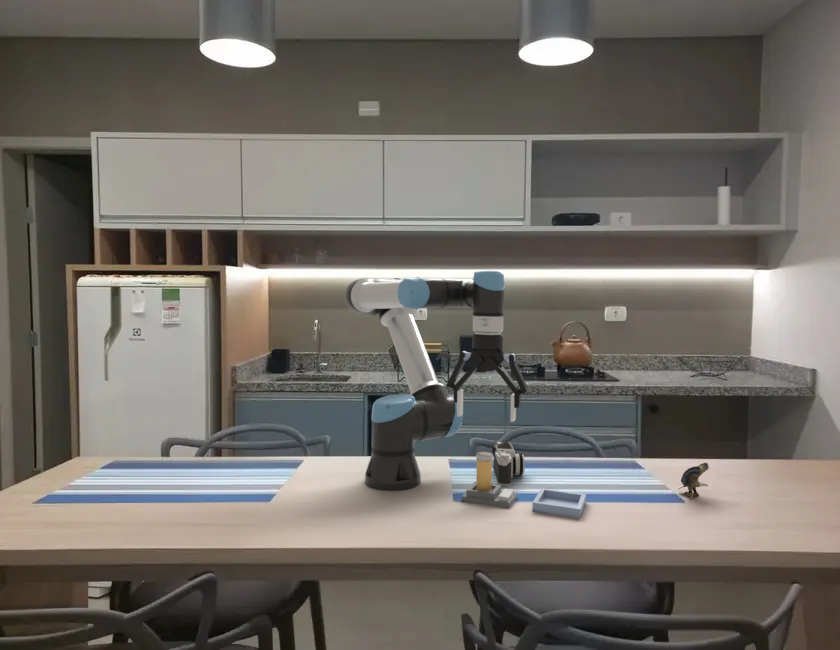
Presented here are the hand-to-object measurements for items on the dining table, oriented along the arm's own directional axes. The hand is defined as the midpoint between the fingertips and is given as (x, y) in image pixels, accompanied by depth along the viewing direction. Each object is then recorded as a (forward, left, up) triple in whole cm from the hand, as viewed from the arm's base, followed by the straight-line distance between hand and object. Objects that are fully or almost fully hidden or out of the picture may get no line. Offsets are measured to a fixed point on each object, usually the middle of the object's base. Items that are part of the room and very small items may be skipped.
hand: (486, 418), depth 146 cm
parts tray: (+18, +1, -21) cm, 28 cm away
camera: (+1, +20, -21) cm, 29 cm away
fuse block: (+1, 0, -21) cm, 21 cm away
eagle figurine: (+49, +23, -21) cm, 58 cm away
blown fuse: (0, 0, -19) cm, 19 cm away
